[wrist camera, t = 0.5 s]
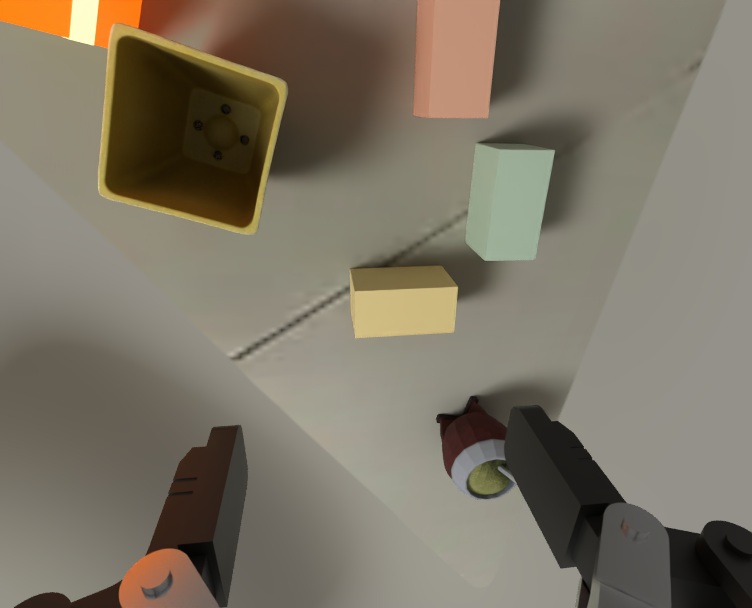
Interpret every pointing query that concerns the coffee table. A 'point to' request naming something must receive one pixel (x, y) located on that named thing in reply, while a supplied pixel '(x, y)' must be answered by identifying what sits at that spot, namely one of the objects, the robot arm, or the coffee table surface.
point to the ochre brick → (402, 301)
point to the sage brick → (507, 200)
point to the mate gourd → (475, 452)
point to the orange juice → (72, 17)
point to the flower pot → (186, 131)
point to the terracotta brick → (454, 57)
